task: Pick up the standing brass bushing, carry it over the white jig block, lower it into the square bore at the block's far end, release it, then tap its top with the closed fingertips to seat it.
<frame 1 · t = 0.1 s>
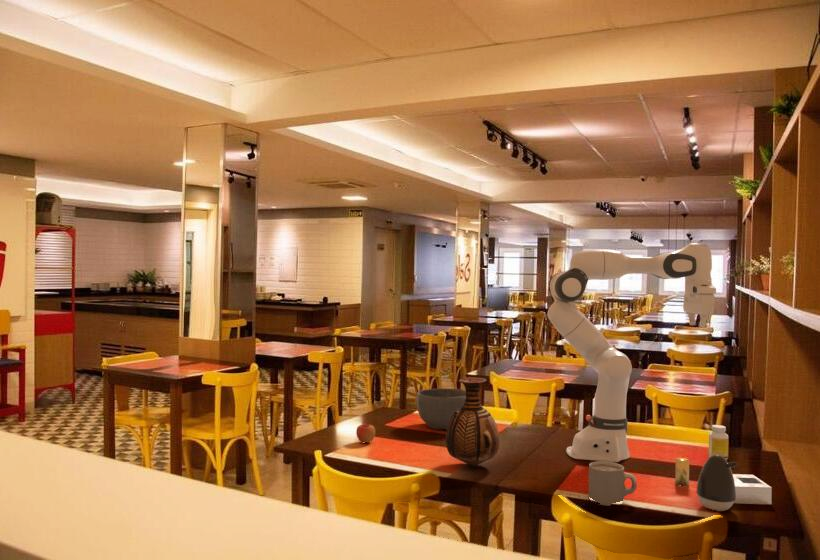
hand: (697, 326, 240), 48 cm above the table, fingers open, 8 cm apart
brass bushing: (681, 484, 210), on the table
vase: (471, 467, 227), on the table
pill bottle: (718, 458, 241), on the table
apple: (365, 443, 256), on the table
jig block: (737, 496, 199), on the table
bowl: (443, 427, 283), on the table
coffee mug: (612, 501, 195), on the table
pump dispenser: (715, 508, 189), on the table
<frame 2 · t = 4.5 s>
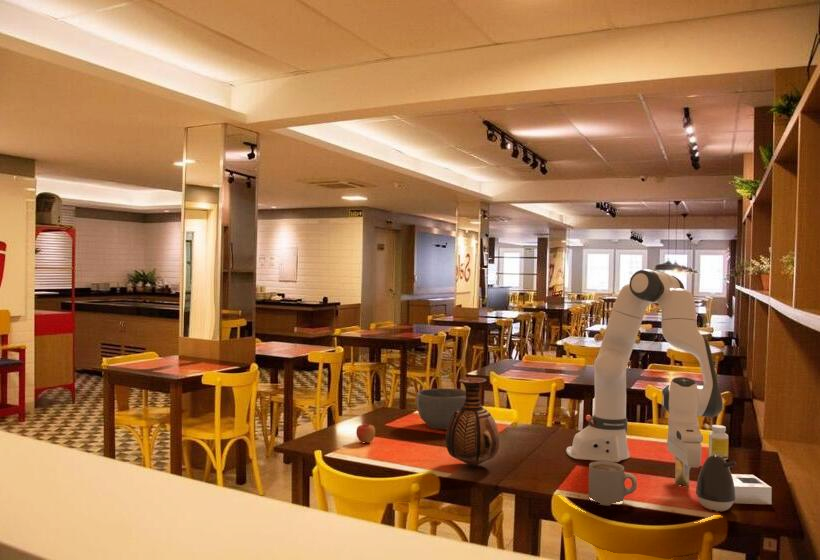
hand: (682, 473, 210), 4 cm above the table, fingers closed on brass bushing, 4 cm apart
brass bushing: (681, 484, 210), on the table, touching gripper
everything else where it was.
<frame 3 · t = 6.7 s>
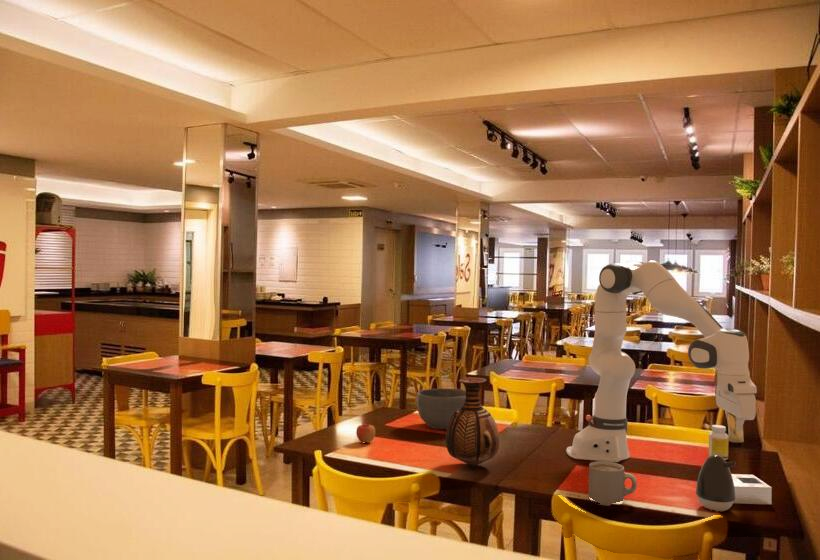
hand: (735, 428, 201), 20 cm above the table, fingers closed on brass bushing, 4 cm apart
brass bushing: (736, 440, 201), point 16 cm above the table, touching gripper
everything else where it was.
when the fingers open (6 cm above the table, at t = 9.2 s): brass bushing drops 2 cm, resting in jig block.
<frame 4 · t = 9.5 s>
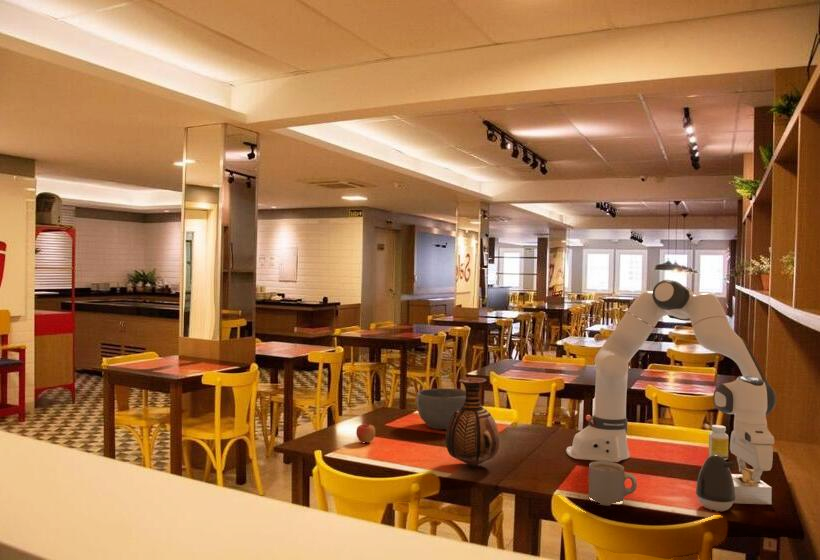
hand: (749, 476, 199), 6 cm above the table, fingers open, 7 cm apart
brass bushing: (749, 497, 199), resting in jig block
everything else where it was.
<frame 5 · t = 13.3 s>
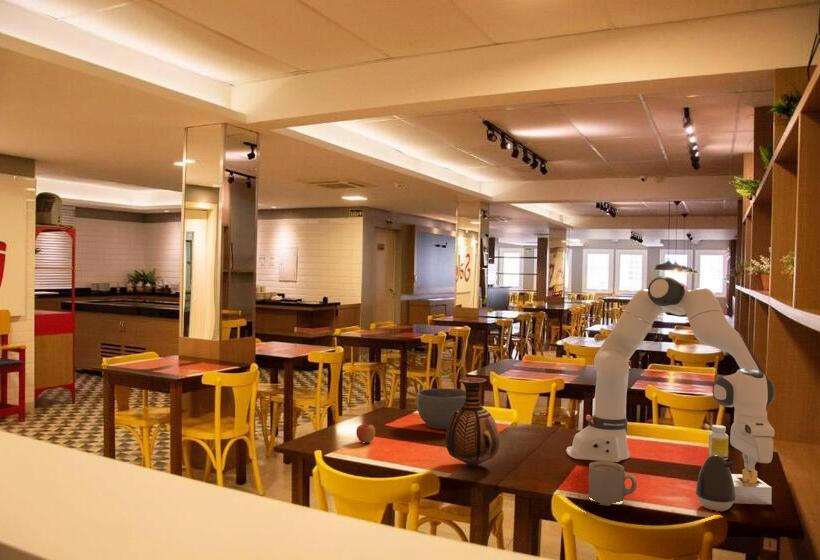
hand: (749, 469, 199), 8 cm above the table, fingers closed
nothing on the table moved.
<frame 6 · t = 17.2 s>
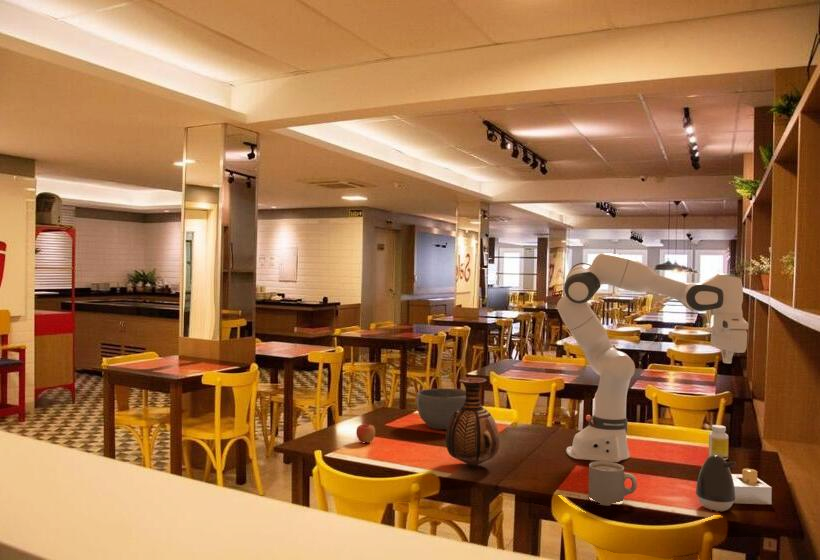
hand: (727, 363, 222), 37 cm above the table, fingers closed
nothing on the table moved.
at the end: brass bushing 0.1 cm from the target spot on the jig block, point 0.0 cm above the jig block's base; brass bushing tilted 0°; the gripper is holding nothing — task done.
